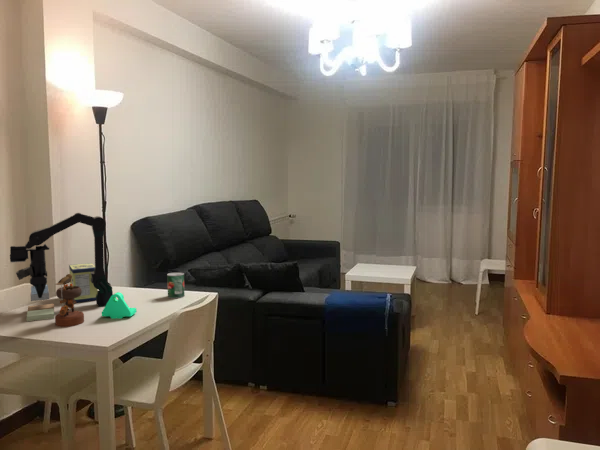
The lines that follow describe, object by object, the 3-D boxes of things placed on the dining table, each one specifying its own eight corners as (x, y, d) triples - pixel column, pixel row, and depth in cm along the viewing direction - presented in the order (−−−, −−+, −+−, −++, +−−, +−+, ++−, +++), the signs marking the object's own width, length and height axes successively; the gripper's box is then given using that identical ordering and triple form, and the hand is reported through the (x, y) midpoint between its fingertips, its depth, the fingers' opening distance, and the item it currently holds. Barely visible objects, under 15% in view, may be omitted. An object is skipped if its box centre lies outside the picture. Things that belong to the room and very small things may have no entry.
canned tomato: (164, 297, 250) (163, 274, 248) (176, 293, 256) (175, 271, 255) (176, 299, 245) (175, 276, 244) (188, 295, 252) (187, 273, 251)
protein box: (93, 293, 258) (91, 262, 256) (98, 300, 244) (97, 267, 243) (70, 296, 252) (68, 264, 251) (74, 303, 239) (72, 269, 237)
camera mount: (137, 313, 221) (136, 290, 220) (130, 319, 213) (129, 294, 212) (109, 313, 222) (108, 289, 221) (101, 318, 214) (100, 294, 213)
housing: (49, 296, 228) (48, 282, 228) (49, 299, 224) (48, 285, 223) (31, 298, 225) (30, 284, 225) (30, 301, 221) (30, 286, 220)
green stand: (54, 313, 222) (53, 308, 222) (54, 318, 214) (54, 313, 214) (27, 315, 218) (27, 311, 218) (26, 321, 210) (26, 316, 210)
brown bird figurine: (80, 327, 202) (73, 276, 200) (50, 330, 200) (43, 279, 198) (90, 316, 217) (83, 268, 215) (62, 319, 215) (55, 272, 213)
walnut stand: (54, 308, 231) (53, 303, 230) (54, 311, 224) (53, 307, 224) (28, 310, 226) (28, 306, 226) (27, 314, 220) (27, 310, 220)
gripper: (17, 258, 228) (20, 294, 230) (15, 265, 211) (17, 303, 213) (46, 256, 233) (48, 291, 234) (45, 263, 216) (48, 300, 217)
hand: (40, 296), depth 225 cm, fingers closed on housing, 5 cm apart
